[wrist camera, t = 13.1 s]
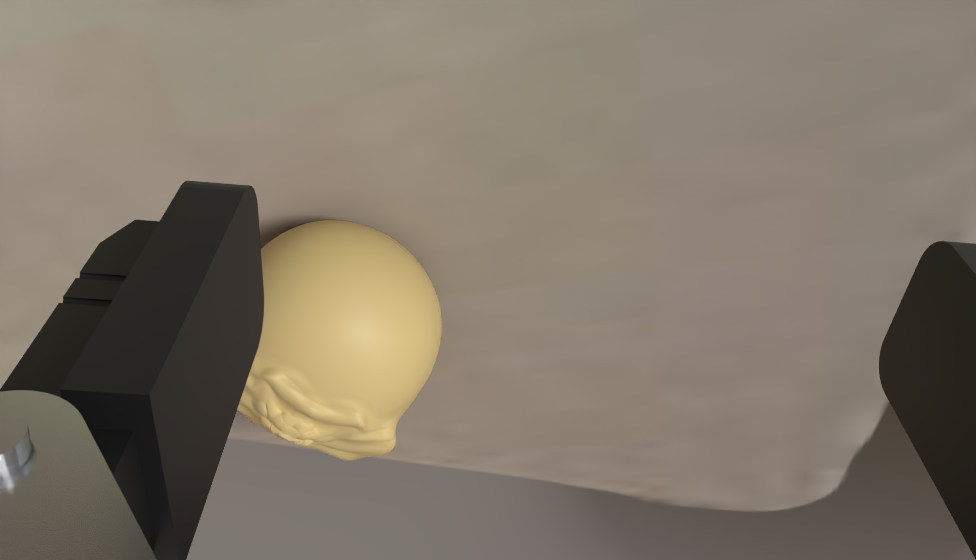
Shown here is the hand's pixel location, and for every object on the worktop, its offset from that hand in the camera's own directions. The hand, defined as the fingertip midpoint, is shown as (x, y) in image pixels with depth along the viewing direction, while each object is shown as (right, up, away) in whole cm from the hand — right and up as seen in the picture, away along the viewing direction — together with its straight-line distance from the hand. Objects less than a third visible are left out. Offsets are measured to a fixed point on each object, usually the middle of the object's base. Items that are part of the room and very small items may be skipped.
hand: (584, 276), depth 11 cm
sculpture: (-10, 0, +41) cm, 42 cm away
